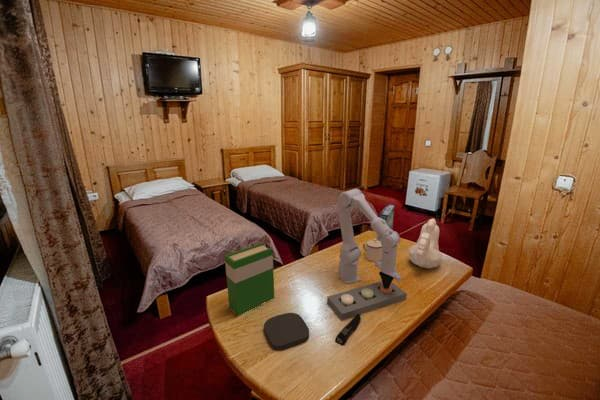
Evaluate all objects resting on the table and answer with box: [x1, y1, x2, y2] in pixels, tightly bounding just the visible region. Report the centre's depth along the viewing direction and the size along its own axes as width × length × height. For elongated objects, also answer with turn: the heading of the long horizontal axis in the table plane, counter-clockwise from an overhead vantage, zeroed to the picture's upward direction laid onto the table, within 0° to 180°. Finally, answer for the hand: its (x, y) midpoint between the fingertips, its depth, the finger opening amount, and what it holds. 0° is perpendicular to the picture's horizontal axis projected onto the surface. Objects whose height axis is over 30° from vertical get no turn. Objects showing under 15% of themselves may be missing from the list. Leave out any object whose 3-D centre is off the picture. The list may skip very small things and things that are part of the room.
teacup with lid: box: [362, 238, 383, 263], centre depth 157 cm, size 12×9×12 cm
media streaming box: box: [263, 312, 310, 351], centre depth 104 cm, size 15×15×3 cm
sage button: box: [361, 288, 374, 300], centre depth 120 cm, size 5×5×2 cm
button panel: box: [326, 280, 408, 321], centre depth 121 cm, size 12×32×3 cm, turn 114°
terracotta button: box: [380, 285, 392, 294], centre depth 124 cm, size 5×5×2 cm
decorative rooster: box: [407, 218, 442, 270], centre depth 145 cm, size 25×16×25 cm, turn 133°
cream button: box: [341, 294, 354, 307], centre depth 117 cm, size 5×5×2 cm
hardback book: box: [224, 242, 275, 317], centre depth 117 cm, size 18×7×24 cm, turn 130°
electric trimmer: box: [334, 314, 362, 346], centre depth 104 cm, size 4×16×3 cm, turn 142°
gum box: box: [376, 204, 395, 241], centre depth 170 cm, size 20×5×23 cm, turn 151°
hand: (386, 287), depth 124 cm, fingers closed
